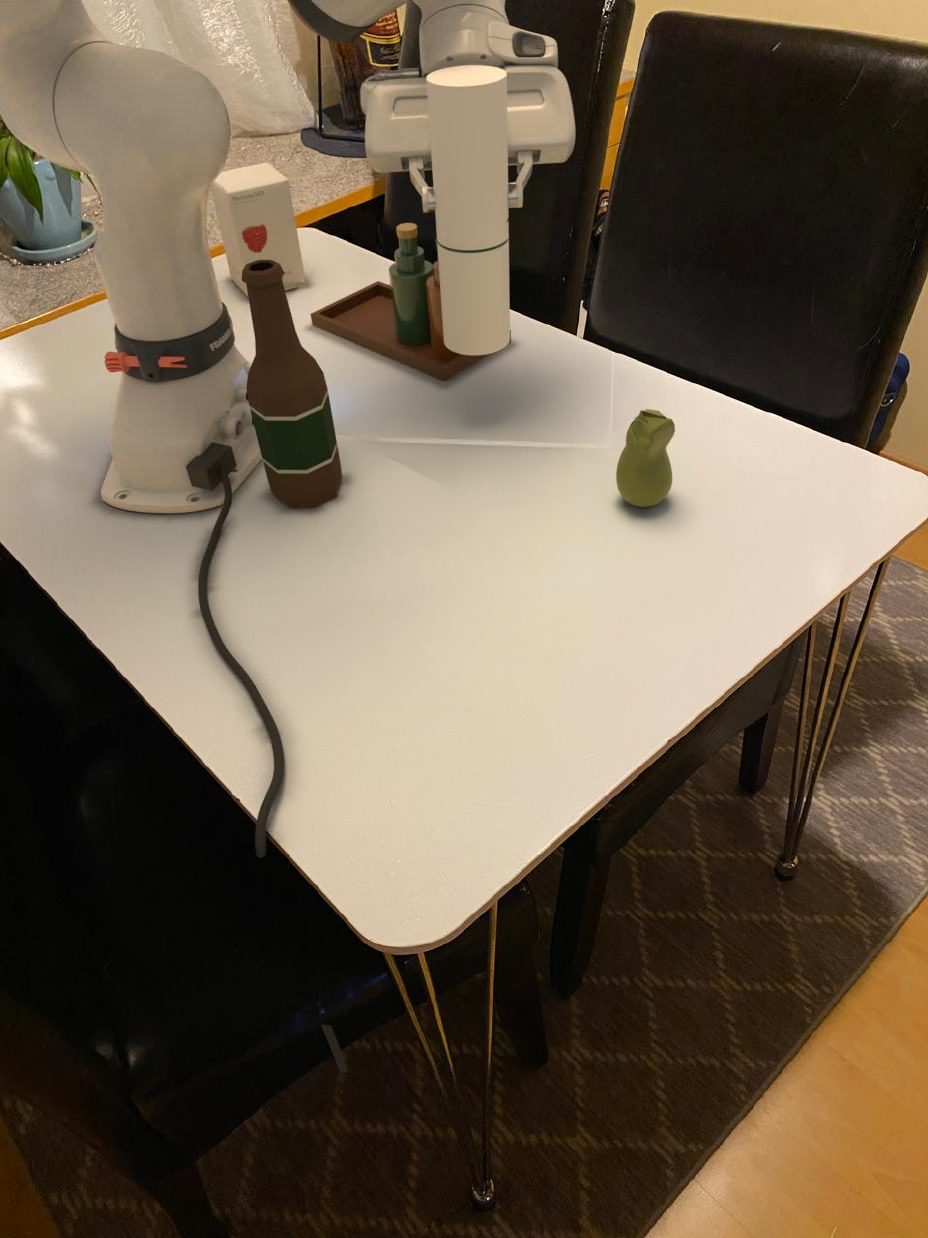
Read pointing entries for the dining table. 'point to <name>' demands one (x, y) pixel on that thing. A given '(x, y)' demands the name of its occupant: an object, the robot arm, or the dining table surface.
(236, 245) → the white product box
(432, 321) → the amber bottle
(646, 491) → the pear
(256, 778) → the dining table surface
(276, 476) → the beer bottle
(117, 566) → the dining table surface
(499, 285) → the cylindrical container
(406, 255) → the green bottle
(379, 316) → the tray
